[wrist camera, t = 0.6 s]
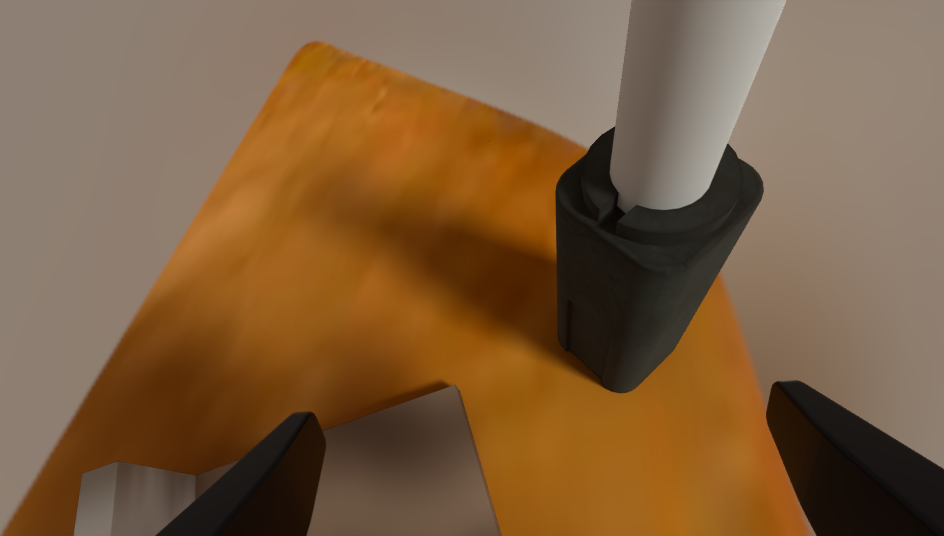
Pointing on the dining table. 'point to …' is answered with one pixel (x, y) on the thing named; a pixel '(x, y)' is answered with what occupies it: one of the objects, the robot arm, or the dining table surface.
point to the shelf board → (332, 480)
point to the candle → (659, 186)
